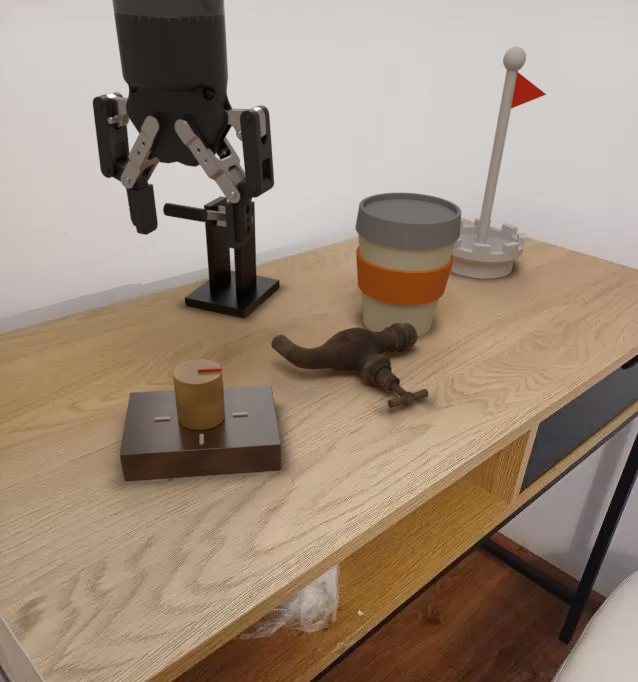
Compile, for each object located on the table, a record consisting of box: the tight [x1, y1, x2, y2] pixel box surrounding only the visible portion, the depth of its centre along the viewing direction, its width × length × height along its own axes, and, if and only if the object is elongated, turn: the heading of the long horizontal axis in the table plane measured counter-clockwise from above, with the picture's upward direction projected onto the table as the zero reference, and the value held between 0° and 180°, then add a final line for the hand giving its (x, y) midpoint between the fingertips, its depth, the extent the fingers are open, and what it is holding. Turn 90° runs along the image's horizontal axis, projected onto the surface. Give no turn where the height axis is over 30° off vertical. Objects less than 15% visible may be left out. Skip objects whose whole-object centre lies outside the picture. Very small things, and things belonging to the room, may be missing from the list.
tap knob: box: [172, 358, 225, 430], centre depth 59 cm, size 4×4×5 cm
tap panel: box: [119, 385, 282, 482], centre depth 61 cm, size 14×10×3 cm
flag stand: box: [450, 46, 547, 280], centre depth 93 cm, size 13×13×30 cm
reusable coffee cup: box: [355, 192, 462, 338], centre depth 80 cm, size 13×13×15 cm
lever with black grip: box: [162, 202, 226, 227], centre depth 78 cm, size 13×5×2 cm, turn 158°
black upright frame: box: [184, 195, 280, 319], centre depth 86 cm, size 11×9×13 cm
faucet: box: [270, 323, 429, 409], centre depth 72 cm, size 5×17×15 cm
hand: (191, 238), depth 54 cm, fingers open, 8 cm apart
